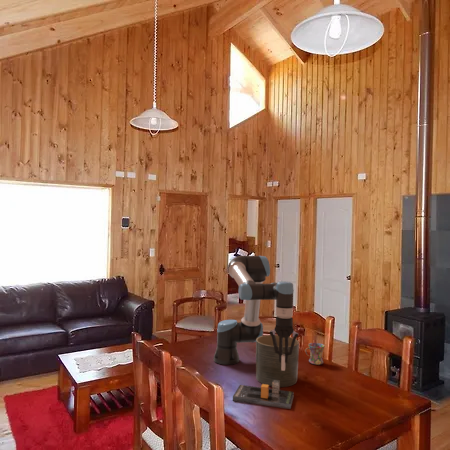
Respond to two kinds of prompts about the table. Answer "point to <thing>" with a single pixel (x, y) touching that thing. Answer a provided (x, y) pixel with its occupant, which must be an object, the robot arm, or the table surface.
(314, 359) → the mug
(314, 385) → the table surface
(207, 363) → the table surface
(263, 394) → the handle
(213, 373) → the table surface
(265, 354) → the planter
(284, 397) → the panel
